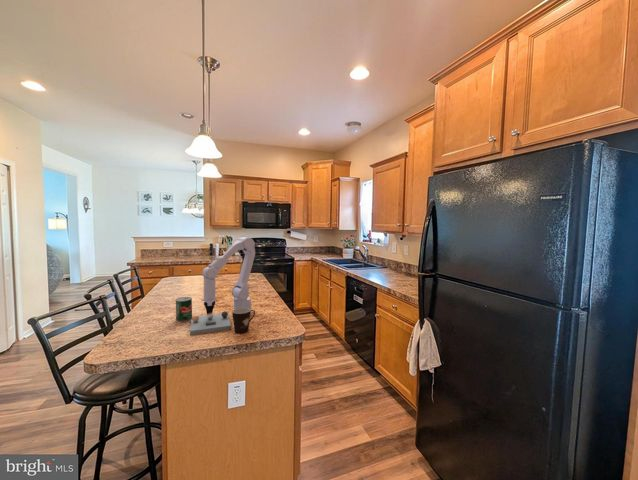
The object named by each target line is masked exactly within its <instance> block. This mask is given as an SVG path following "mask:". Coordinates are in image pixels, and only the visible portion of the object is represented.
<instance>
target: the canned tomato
mask: <svg viewBox="0 0 638 480" xmlns="http://www.w3.org/2000/svg"><path fill="white" fill-rule="evenodd" d="M192 317H193V299H192V297H191V296H183V297H178V298H176V299H175V321H176V322H188V321H191V320H192Z"/></svg>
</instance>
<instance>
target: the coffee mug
mask: <svg viewBox="0 0 638 480" xmlns="http://www.w3.org/2000/svg"><path fill="white" fill-rule="evenodd" d="M252 312H253V314H252ZM250 313H251V314H252V317H251V315H250ZM231 314H232V322H233V328H234V333H235V334H237V335H242V334H243V335H244V334H246V333H248V332H249V330H250V329H249V328H250V322H251V321H252V320H253V319H254V317H255V316H256V315H255V314H256V311H255V310H254V309H252V308H251V309H249V308H238V309H235V310H234V309H233V310H232V311H231Z"/></svg>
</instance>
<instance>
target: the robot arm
mask: <svg viewBox="0 0 638 480" xmlns="http://www.w3.org/2000/svg"><path fill="white" fill-rule="evenodd" d="M255 244H256V242H255V241H254V240H253V239H252V237H243V236H239V237H238V238H237V239H236V240H234V241H233V243H232V245H230V246H229V248H228V249H227V250H226V251H225V252H224V253H223V255H221V256H220V255H219V256H217V257H215V258H214V260H213V261H212V262H211V263H208V266H207V267H204V268H203V270H202V271H201V275H202V277H203V298H201V299H200V301H201V302H203V306H204V307H205V310H206V315H207V314H208V313H212V314H214V313H213V311H214V307H215V305H216V300H217V297H216V278H217V277H218V275H219V272H220V271H221V270H222V269H223V268H224V267H225V266H226V265H227V264H228V263H227V262H228V260H229V259H230V258H231V257H232V256H233V255H234V254H235V253H237V252H238V251H241V250H242V252H243V254H244V256H243V257H244V258H243V261H242V265H241V269H240V272H239V275H238V280H237V282H235V284H234V286H233V287H232V289H231V295H232V297H233V310H235V309H238V308H249V309H251V310H252V300H251V298H250V297H249V296H250V286H249V279H250V275H251V272H252V268H253V264H254V260H255V256H256V248H255ZM250 316H252V312H251V313H250Z"/></svg>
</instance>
